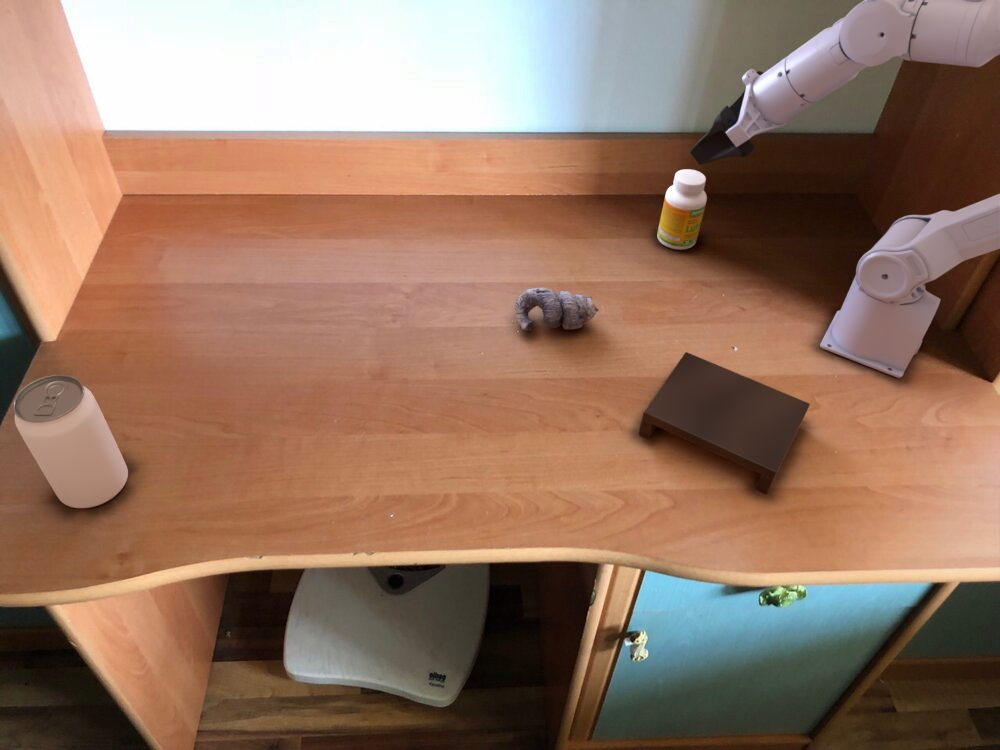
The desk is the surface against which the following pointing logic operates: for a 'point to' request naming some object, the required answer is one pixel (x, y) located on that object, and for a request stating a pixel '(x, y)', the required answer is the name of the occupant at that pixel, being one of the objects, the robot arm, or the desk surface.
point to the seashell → (555, 308)
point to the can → (70, 440)
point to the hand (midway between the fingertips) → (709, 141)
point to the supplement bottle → (683, 210)
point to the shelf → (727, 415)
